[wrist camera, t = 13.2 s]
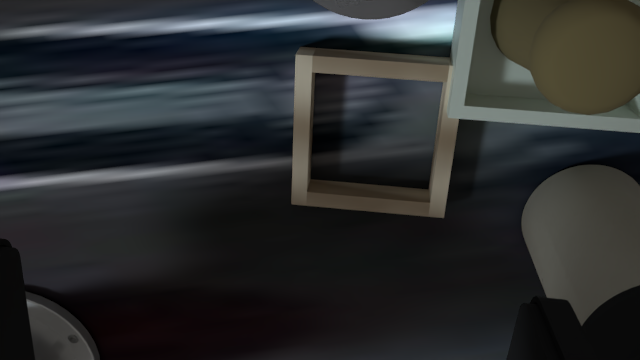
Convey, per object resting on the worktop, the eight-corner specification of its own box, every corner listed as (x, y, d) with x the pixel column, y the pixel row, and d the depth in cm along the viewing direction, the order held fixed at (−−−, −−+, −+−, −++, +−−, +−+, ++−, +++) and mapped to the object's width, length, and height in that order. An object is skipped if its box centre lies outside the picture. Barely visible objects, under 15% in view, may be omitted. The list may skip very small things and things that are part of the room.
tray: (634, 115, 38) (653, 133, 35) (443, 101, 38) (447, 117, 36) (692, -90, 33) (720, -89, 30) (472, -102, 33) (479, -101, 31)
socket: (441, 203, 41) (443, 218, 40) (295, 191, 42) (291, 204, 40) (463, 58, 37) (467, 66, 35) (300, 46, 38) (295, 54, 36)
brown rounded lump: (469, 5, 35) (501, 49, 25) (566, -63, 33) (641, -44, 23) (523, 87, 37) (572, 159, 27) (618, 27, 35) (709, 81, 25)
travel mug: (619, 141, 38) (787, 323, 22) (663, 237, 41) (842, 465, 25) (500, 195, 41) (573, 396, 25) (548, 283, 43) (644, 518, 27)
